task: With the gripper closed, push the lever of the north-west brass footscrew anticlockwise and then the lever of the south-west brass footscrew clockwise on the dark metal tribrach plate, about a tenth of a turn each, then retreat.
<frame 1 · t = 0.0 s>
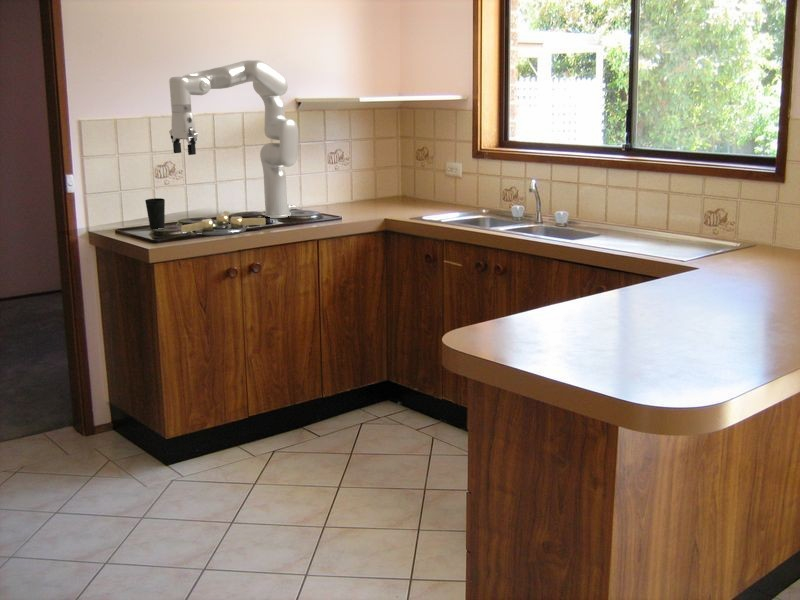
hand: (184, 153, 354), 31 cm above the worktop, fingers open, 9 cm apart
tribrach plate: (220, 230, 364), on the worktop
cup: (157, 229, 369), on the worktop
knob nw: (247, 221, 363), point 4 cm above the worktop, hinge at 0.0°
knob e: (197, 226, 355), point 4 cm above the worktop, hinge at 0.0°
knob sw: (224, 217, 373), point 4 cm above the worktop, hinge at 0.0°
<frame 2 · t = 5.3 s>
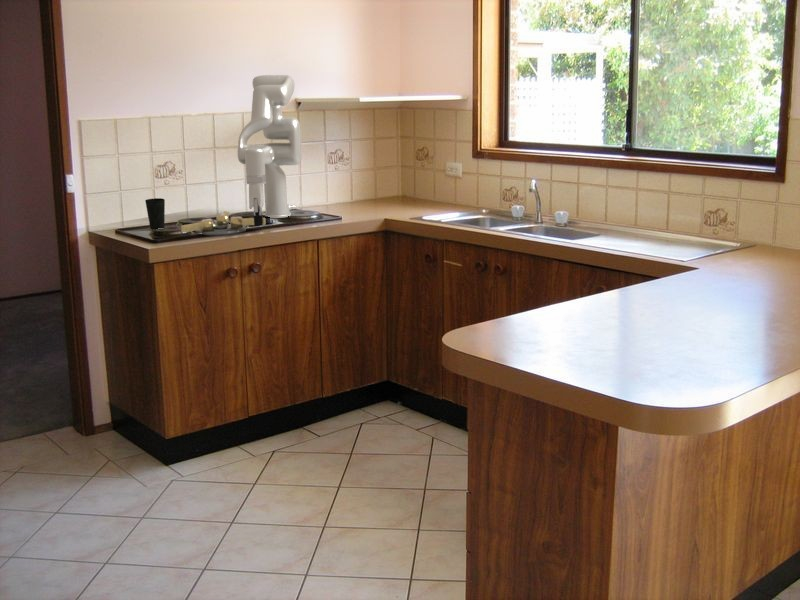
hand: (258, 225, 361), 3 cm above the worktop, fingers closed
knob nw: (247, 221, 363), point 4 cm above the worktop, hinge at 0.0°, touching gripper
everything else where it was.
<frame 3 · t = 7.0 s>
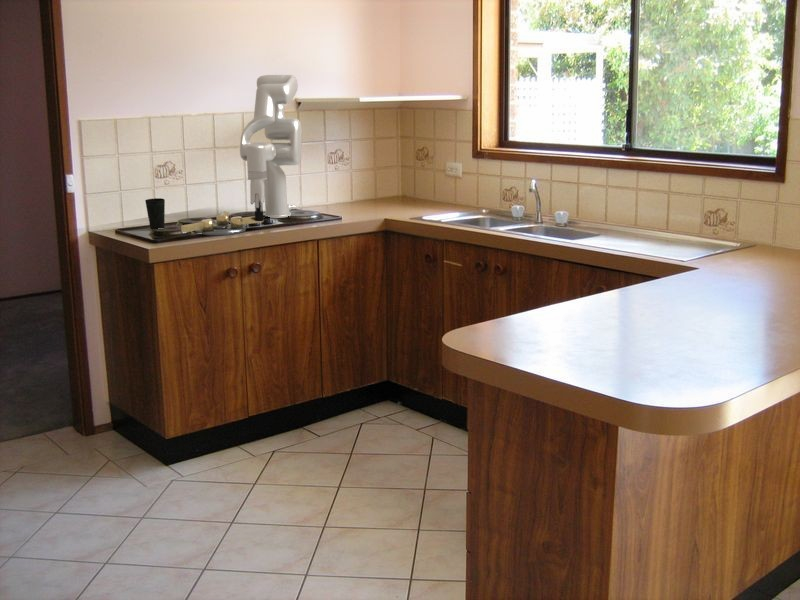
hand: (259, 220, 366), 3 cm above the worktop, fingers closed
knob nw: (246, 220, 366), point 4 cm above the worktop, hinge at 33.6°, touching gripper
everything else where it was.
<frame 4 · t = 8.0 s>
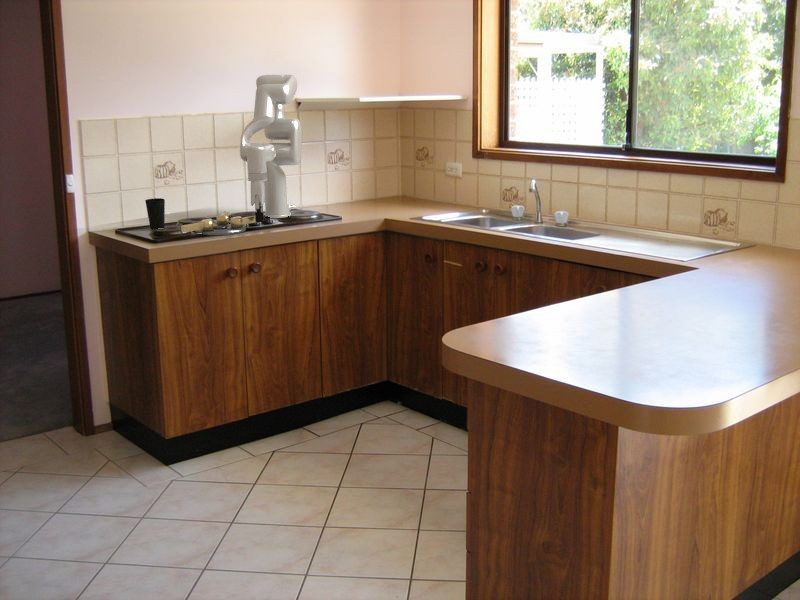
hand: (259, 221, 366), 3 cm above the worktop, fingers closed
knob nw: (246, 220, 366), point 4 cm above the worktop, hinge at 41.0°
everything else where it was.
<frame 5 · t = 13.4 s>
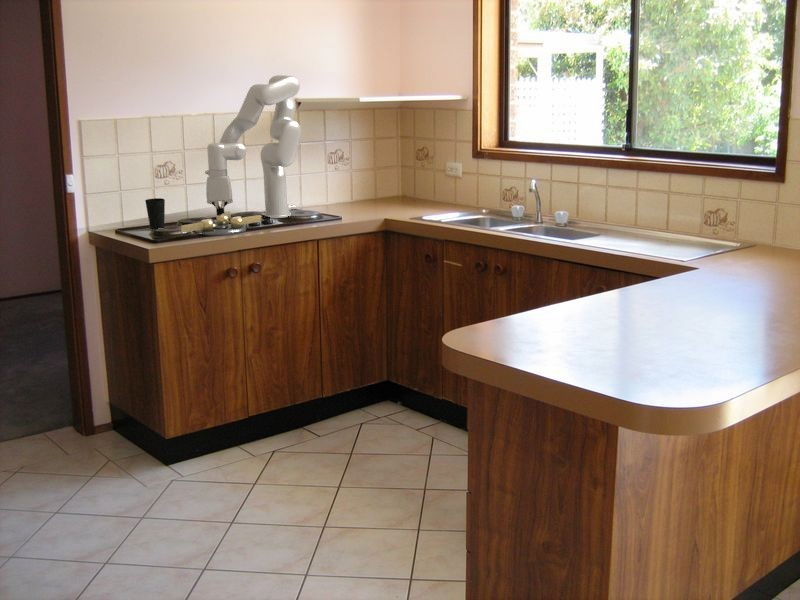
hand: (220, 217, 378), 3 cm above the worktop, fingers closed
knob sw: (225, 217, 373), point 4 cm above the worktop, hinge at -4.6°, touching gripper
everything else where it was.
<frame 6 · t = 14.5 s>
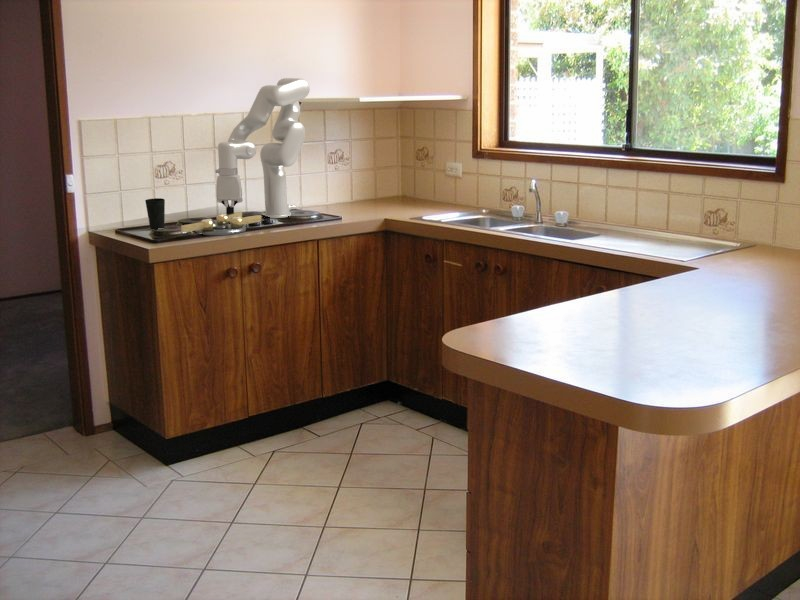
hand: (230, 216, 377), 3 cm above the worktop, fingers closed
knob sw: (229, 217, 373), point 4 cm above the worktop, hinge at -31.7°, touching gripper
everything else where it was.
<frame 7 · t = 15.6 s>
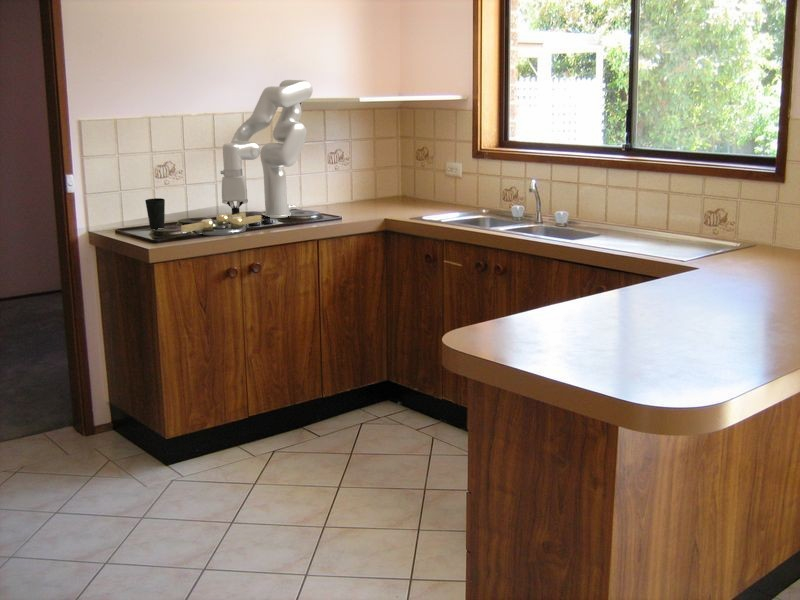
hand: (236, 217, 378), 3 cm above the worktop, fingers closed
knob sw: (231, 217, 372), point 4 cm above the worktop, hinge at -42.5°
everything else where it was.
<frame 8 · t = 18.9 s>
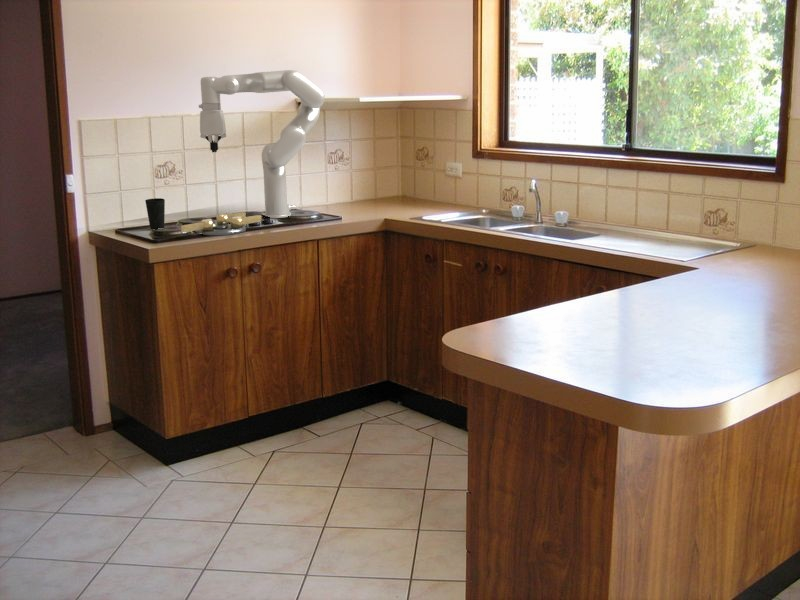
hand: (214, 151, 379), 29 cm above the worktop, fingers closed
nothing on the worktop moved.
at the end: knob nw at +41° (first picture: +0°); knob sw at -43° (first picture: +0°) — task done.
